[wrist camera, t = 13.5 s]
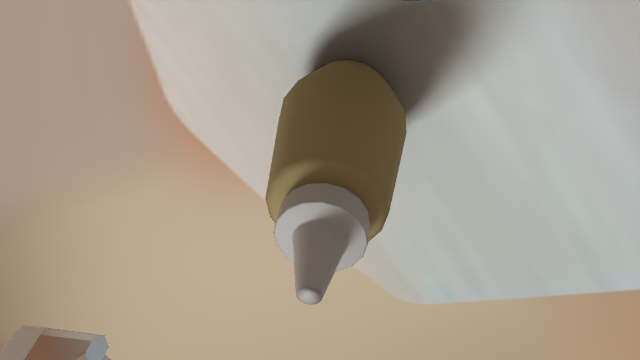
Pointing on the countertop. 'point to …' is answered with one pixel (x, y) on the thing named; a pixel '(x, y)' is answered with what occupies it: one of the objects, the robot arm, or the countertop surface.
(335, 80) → the squeeze bottle
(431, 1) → the stand
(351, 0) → the countertop surface
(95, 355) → the robot arm
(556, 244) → the countertop surface
